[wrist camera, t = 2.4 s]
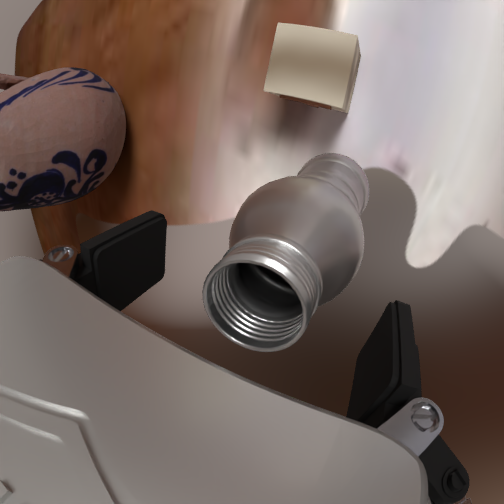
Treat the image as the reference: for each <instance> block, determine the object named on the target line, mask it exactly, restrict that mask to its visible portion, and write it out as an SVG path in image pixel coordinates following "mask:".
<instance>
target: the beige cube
mask: <svg viewBox="0 0 504 504" xmlns="http://www.w3.org/2000/svg"><path fill="white" fill-rule="evenodd" d="M360 57H361V54H360V48H359V41H358V36H357V35H353V34H348V33H344V32H339V31H334V30H329V29H323V28H317V27H311V26H303V25H296V24H286V23H278V25H277V29H276V34H275V38H274V43H273V48H272V52H271V57H270V62H269V67H268V71H267V76H266V81H265V86H264V91H266V92H269V93H272V94H275V95H278V96H280V98H283V99H288V100H293V101H297V102H302V103H304V104H307V105H309V106H313V107H317V108H318V107H323V108H326V109H330V110H331V109H333V110H337V111H340V112H344V113H347V114H348V112H349V108H350V104H351V99H352V95H353V90H354V86H355V81H356V76H357V72H358V67H359V62H360Z"/></svg>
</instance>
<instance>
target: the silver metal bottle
mask: <svg viewBox="0 0 504 504" xmlns="http://www.w3.org/2000/svg"><path fill="white" fill-rule="evenodd" d="M368 199H369V184H368V179H367V177H366V175H365V172H364V171H363V170H362V168H361V167H360V166H359V165H358V164H357V163H356V162H355V161H354V160H352V159H351V158H349V157H347V156H344V155H341V154H335V153H327V154H322V155H318V156H316V157H314V158H312V159H311V160H309V161H308V162H307V163H306V164H305V165H304V166H303V167H302V168H301V170H300V171H299V173H298V175H297V176H288V177H285V178H281V179H278V180H275V181H272V182H269V183H267V184H265V185H264V186H262V187H260V188H258V189H257V190H256V191H254V192H253V193H252V194H251V195H250V196H249V197H248V198H247V199H246V201H245V202H244V203H243V204H242V206H241V208H240V210H239V212H238V214H237V216H236V218H235V220H234V222H233V224H232V228H231V232H230V237H229V240H230V241H229V250H228V252H226V254H225V255H224V256H223V258H222V260H221V261H220V262H219V263H218V264H216V265H215V266H214V267H213V269H212V270H211V271H210V273H209V274H208V276H207V278H206V280H205V282H204V286H203V291H202V293H203V303H204V307H205V310H206V312H207V314H208V317H209V318H210V320H211V321H212V323H213V324H214V326H215V327H216V328H217V329H218V330H219V331H220V332H221V333H222V334H223V335H224V336H225V337H226V338H228V339H229V340H231V341H232V342H234V343H236V344H238V345H240V346H242V347H244V348H247V349H251V350H254V351H260V352H273V351H279V350H282V349H285V348H288V347H290V346H291V345H293V344H294V343H295V342H297V341H298V339H299V338H300V337H301V336H302V334H303V333H304V332H305V330H306V328H307V326H308V324H309V321H310V319H311V317H312V315H313V314H314V313H315V311H316V309H317V307H318V306H321V305H323V304H325V303H327V302H329V301H331V300H333V299H334V298H335V297H336V296H338V295H339V294H340V293H341V292H342V291H343V290H344V289H345V288H346V287H347V286H348V284H349V283H350V282H351V281H352V280H353V278H354V277H355V275H356V273H357V271H358V269H359V268H360V265H361V262H362V257H363V253H364V234H363V228H362V222H361V219H360V215H361V214H362V212H363V211H364V209H365V207H366V205H367V202H368Z"/></svg>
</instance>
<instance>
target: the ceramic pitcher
mask: <svg viewBox="0 0 504 504" xmlns="http://www.w3.org/2000/svg"><path fill="white" fill-rule="evenodd" d="M0 89H4V90H5V91H3V92H1V93H0V211H11V210H19V209H30V208H38V207H45V206H53V205H58V204H62V203H66V202H70V201H73V200H75V199H78V198H80V197H82V196H84V195H86V194H88V193H89V192H91V191H92V190H94V189H96V188H97V187H98V186H99V185H100V184H101V183H102V182H103V181H104V180H105V179H106V178H107V177H108V176H109V174H110V173H111V172H112V170H113V169H114V167H115V165H116V163H117V162H118V160H119V157H120V154H121V152H122V149H123V145H124V140H125V134H126V117H125V111H124V107H123V104H122V102H121V99H120V97H119V95H118V93H117V92H116V91H115V89H114V88H113V87H112V86H110V84H109V82H106V81H105V80H104V79H102V78H101V77H100V76H98V75H96V74H95V73H93V72H91V71H88V70H86V69H81V68H60V69H55V70H51V71H48V72H45V73H42V74H39V75H36V76H34V77H31V78H25V77H19V76H12V75H6V74H0Z"/></svg>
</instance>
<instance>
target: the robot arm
mask: <svg viewBox="0 0 504 504" xmlns="http://www.w3.org/2000/svg"><path fill="white" fill-rule="evenodd" d="M166 228H167V221H166V219H165V217H164V215H163V214H161V213H158V212H155V211H149V212H146V213H144V214H142V215H140V216H137V217H135V218H133V219H131V220H129V221H127V222H124V223H122V224H120V225H118V226H116V227H114V228H112V229H110V230H108V231H105V232H104V233H101V234H99V235H97V236H95V237H93V238H92V239H89V240H87V241H85V242H83V243H82V244H80V246H81V253H80V254H78V251H77V249H76V248H75V247H74V246H71V245H59V246H55V247H53V248H51V249H50V250H48V251H47V252H46V254H45V256H44V257H43V259H42V260H37V259H34V258H30V257H22V256H15V257H11V258H9V259H7V260H5V261H3V262H1V263H0V504H472V502H471V500H470V498H468V499H466V498H465V495H466V493H467V491H468V488H469V476H468V473H467V471H466V470H465V468H464V467H463V465H462V464H461V463H460V461H459V460H458V459H457V457H456V456H455V455H454V454H453V452H452V451H451V450H450V448H449V447H448V446H447V445H446V443H445V442H444V441H443V440H442V438H441V437H440V436H439V433H440V431H441V429H442V428H443V415H442V413H441V410H440V409H439V408H438V406H437V405H436V404H435V403H434V402H432V401H431V400H429V399H426V398H422V396H421V378H420V363H419V353H418V347H417V345H416V344H415V338H414V330H413V322H412V315H411V308H410V305H408V304H405V303H403V302H400V301H397V300H396V301H395V302H394V303H391V302H390V303H389V304H388V305H387V307H386V309H385V311H384V313H383V315H382V316H381V318H380V320H379V322H378V323H377V325H376V327H375V328H374V330H373V332H372V333H371V335H370V337H369V338H368V340H367V342H366V343H365V345H364V346H363V348H362V350H361V351H360V353H359V355H358V358H357V362H356V368H355V374H354V380H353V386H352V391H351V397H350V402H349V407H348V412H347V416H346V417H344V416H342V415H339V414H336V413H333V412H330V411H327V410H325V409H322V408H319V407H316V406H313V405H311V404H308V403H305V402H303V401H300V400H298V399H295V398H292V397H290V396H287V395H285V394H282V393H280V392H277V391H275V390H272V389H270V388H267V387H265V386H263V385H260V384H258V383H256V382H253V381H251V380H249V379H247V378H244V377H242V376H240V375H238V374H236V373H233V372H231V371H229V370H227V369H225V368H223V367H221V366H219V365H216V364H214V363H212V362H210V361H208V360H206V359H204V358H202V357H200V356H198V355H196V354H194V353H193V352H191V351H189V350H187V349H185V348H183V347H181V346H179V345H177V344H175V343H173V342H172V341H170V340H168V339H166V338H164V337H163V336H161V335H159V334H157V333H156V332H154V331H152V330H151V329H149V328H147V327H145V326H144V325H142V324H140V323H139V322H137V321H135V320H134V319H132V318H130V317H129V316H127V315H125V314H124V313H122V312H121V310H123V309H124V308H125V307H126V306H128V305H129V304H130V303H132V302H133V301H134V300H135V299H137V298H138V297H139V296H141V295H142V294H143V293H144V292H146V291H147V290H148V289H149V288H151V287H152V286H153V285H155V284H156V283H157V282H159V281H160V280H161V279H162V278H163V276H164V273H165V246H166Z"/></svg>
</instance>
